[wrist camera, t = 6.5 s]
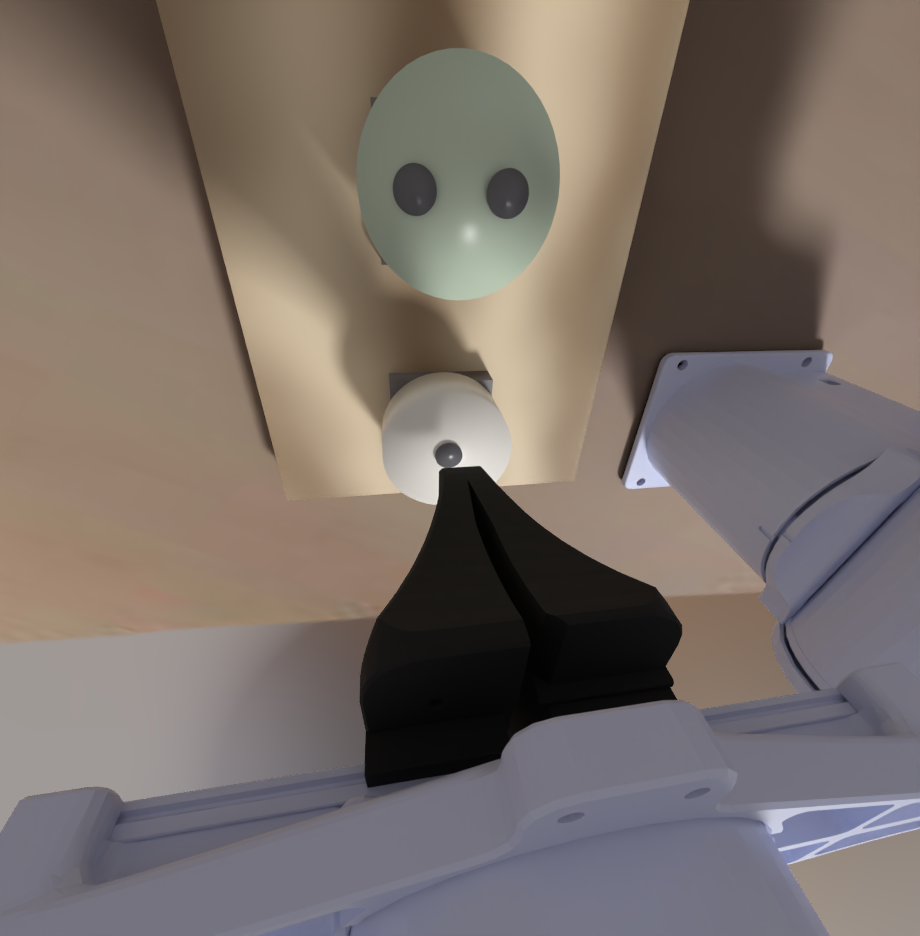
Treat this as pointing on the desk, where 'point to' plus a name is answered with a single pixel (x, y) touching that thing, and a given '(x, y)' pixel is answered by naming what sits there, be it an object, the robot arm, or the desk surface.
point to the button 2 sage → (458, 174)
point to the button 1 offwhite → (441, 433)
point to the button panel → (347, 240)
